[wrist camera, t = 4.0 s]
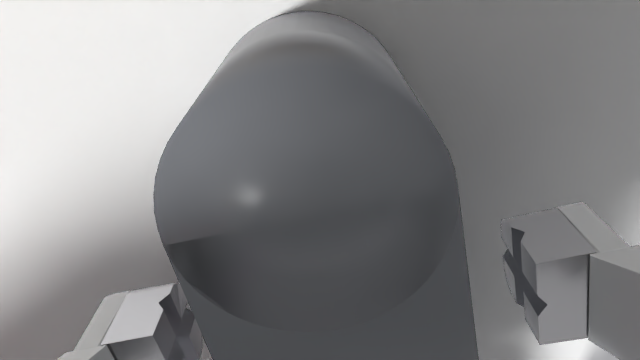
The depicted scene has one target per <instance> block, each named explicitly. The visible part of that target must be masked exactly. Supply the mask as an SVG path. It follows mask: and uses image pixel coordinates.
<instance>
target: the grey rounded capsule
mask: <svg viewBox="0 0 640 360" xmlns="http://www.w3.org/2000/svg"><path fill="white" fill-rule="evenodd" d="M154 213H155V218H156V223H157V228H158V232H159V234H160V237H161V240H162V243H163V246H164V248H165V250H166V253H167V255H168V257H169V260H170V262H171V264H172V267H173V269H174V271H175V273H176V276H177V278H178V280H179V283H180V285H181V287H182V290H183V292H184V294H185V296H186V299H187V301H188V303H189V306H190V308H191V310H192V313H193V315H194V317H195V319H196V322H197V324H198V326H199V329H200V331H201V333H202V336H203V338H204V340H205V343H206V345H207V347H208V349H209V352H210V354H211V356H212V359H213V360H478V352H477V343H476V335H475V326H474V318H473V309H472V301H471V292H470V284H469V275H468V267H467V259H466V250H465V242H464V233H463V225H462V216H461V208H460V199H459V191H458V184H457V179H456V174H455V169H454V166H453V163H452V160H451V157H450V154H449V152H448V149H447V148H446V146H445V144H444V142H443V140H442V138H441V137H440V135H439V133H438V131H437V130H436V128H435V127H434V125H433V124H432V122H431V120H430V119H429V117H428V116H427V114H426V112H425V111H424V109H423V108H422V106H421V104H420V103H419V101H418V100H417V98H416V96H415V95H414V93H413V92H412V90H411V89H410V87H409V85H408V84H407V82H406V81H405V79H404V77H403V76H402V74H401V73H400V71H399V69H398V68H397V66H396V65H395V63H394V62H393V60H392V58H391V57H390V55H389V54H388V52H387V51H386V50H385V48H384V47H383V46H382V44H381V43H380V42H379V41H378V40H377V39H376V38H375V37H374V36H373V35H372V34H370V33H369V32H368V31H366V30H365V29H364V28H362V27H361V26H359V25H357V24H356V23H354V22H352V21H350V20H348V19H345V18H343V17H340V16H337V15H333V14H329V13H324V12H315V11H301V12H293V13H287V14H283V15H280V16H277V17H274V18H271V19H269V20H267V21H265V22H263V23H261V24H259V25H258V26H256V27H255V28H253V29H252V30H250V31H249V32H248V33H247V34H245V35H244V36H243V37H242V38H241V39H240V40H239V41H238V42H237V43H236V45H235V46H234V47H233V48H232V49H231V51H230V52H229V54H228V55H227V56H226V58H225V59H224V61H223V62H222V64H221V65H220V66H219V68H218V69H217V71H216V72H215V74H214V75H213V76H212V78H211V79H210V81H209V82H208V84H207V85H206V86H205V88H204V89H203V91H202V92H201V94H200V95H199V96H198V98H197V99H196V101H195V102H194V104H193V105H192V107H191V108H190V109H189V111H188V112H187V114H186V115H185V117H184V118H183V119H182V121H181V122H180V124H179V125H178V127H177V128H176V130H175V131H174V133H173V134H172V136H171V138H170V139H169V141H168V143H167V145H166V147H165V149H164V152H163V154H162V156H161V158H160V162H159V165H158V169H157V173H156V177H155V186H154Z"/></svg>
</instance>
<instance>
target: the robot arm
mask: <svg viewBox="0 0 640 360" xmlns="http://www.w3.org/2000/svg"><path fill="white" fill-rule="evenodd" d="M501 238H502V239H503V241H504V243H505V244H506V246H507V248H508V249H507V251H506V252H505V254H504V255H503V262H504V271H505V275H506V279H507V283H508V286H509V288H510V291H511V293H512V295H513V297H514V299H515V301H516V303H518V304H520V305H521V306H523V307H525V319H526V321H527V323H528V325H529V327H530V328H531V330H532V332H533V334H534V335H535V337H536V339H537V341H538V343H539V344H540V345H542V344H549V343H556V342H562V341H569V340H576V339H583V338H588V340H589V341H591V342H593V343H594V344H596V345H597V346H599V347H600V348H602V349H604V350H605V351H607V352H608V353H610V354H612V355H613V356H615V357H616V358H618V359H619V360H640V246H639V245H638V246H632V247H630V246H629V245H628V244H627V243H626V242H625V241H624V240H623V239H622V238H621V237H619V236H618V235H617V234H616V233H615V232H614V231H613V230H612V229H611V228H610V227H609V226H608V225H607V224H606V223H605V222H604V221H603V220H602V219H601V218H600V217H599V216H598V215H597V214H596V213H595V212H594V211H593V210H592V209H591V208H590V207H589V206H588V205H586V204H585V203H583V202H577V203H572V204H568V205H564V206H559V207H555V208H552V209H548V210H543V211H538V212H534V213H529V214H525V215H520V216H515V217H511V218H506V219H502V220H501ZM187 302H188V301H187V299H186V296H185V294H184V292H183V290H182V287H181V285H180V283H178V282H175V283H170V284H164V285H158V286H153V287H147V288H141V289H135V290H132V291H124V292H119V293H114V294H110V295H108V296H106V297H104V299H103V300H102V302H101V304H100V306H99V307H98V309H97V311H96V312H95V314H94V316H93V318H92V319H91V321H90V323H89V324H88V326H87V328H86V330H85V331H84V333H83V335H82V337H81V338H80V340H79V342H78V343H77V345H76V347H75V349H74V350H73V351H71V352H66V353H64V354H63V355H62V356H60V357H59V358H58V359H56V360H200V357H201V353H202V333H201V331H200V329H199V326H198V324H197V322H196V319H195V317H194V315H193V313H192V312H191V311H190V310H188V309H187V308H186V305H187Z"/></svg>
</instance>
